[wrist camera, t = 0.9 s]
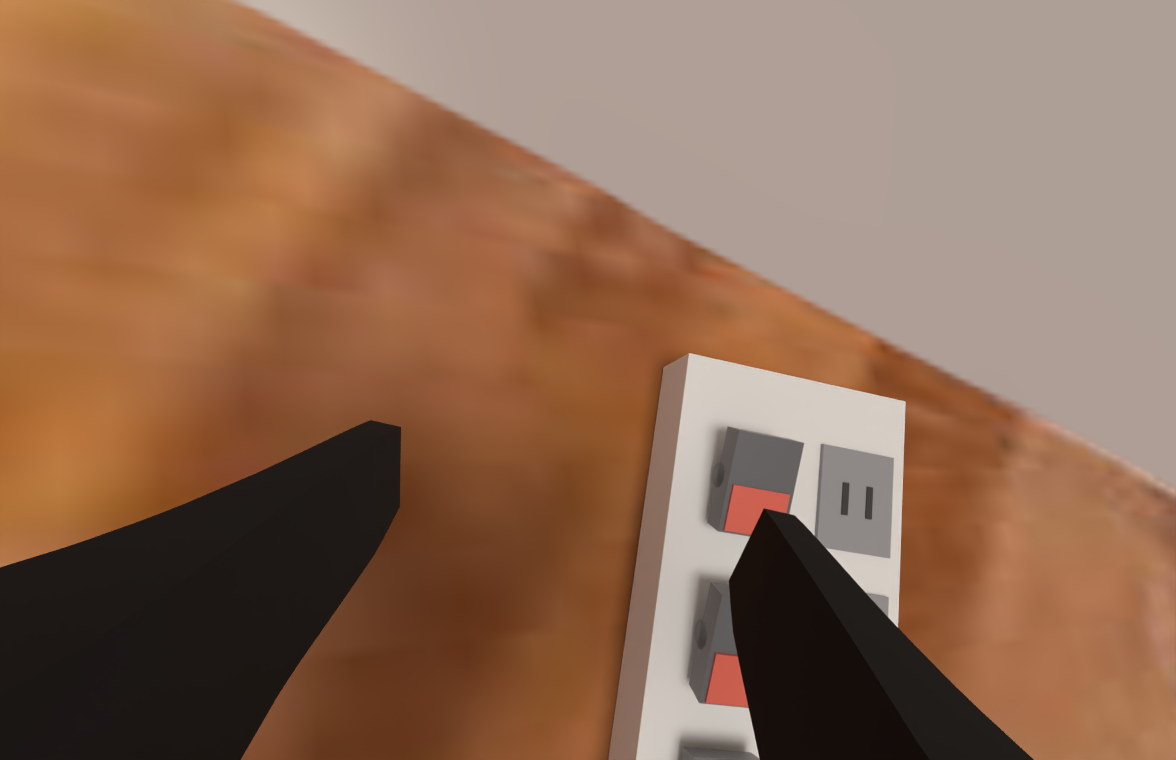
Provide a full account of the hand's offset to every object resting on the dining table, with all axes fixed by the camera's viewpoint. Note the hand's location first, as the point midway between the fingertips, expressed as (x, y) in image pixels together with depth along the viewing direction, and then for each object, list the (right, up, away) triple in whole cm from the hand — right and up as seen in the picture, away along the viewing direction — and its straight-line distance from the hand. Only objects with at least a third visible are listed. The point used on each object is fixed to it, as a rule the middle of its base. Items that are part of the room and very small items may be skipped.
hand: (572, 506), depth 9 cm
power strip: (+6, -8, +12) cm, 16 cm away
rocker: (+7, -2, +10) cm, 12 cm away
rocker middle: (+6, -7, +9) cm, 13 cm away
